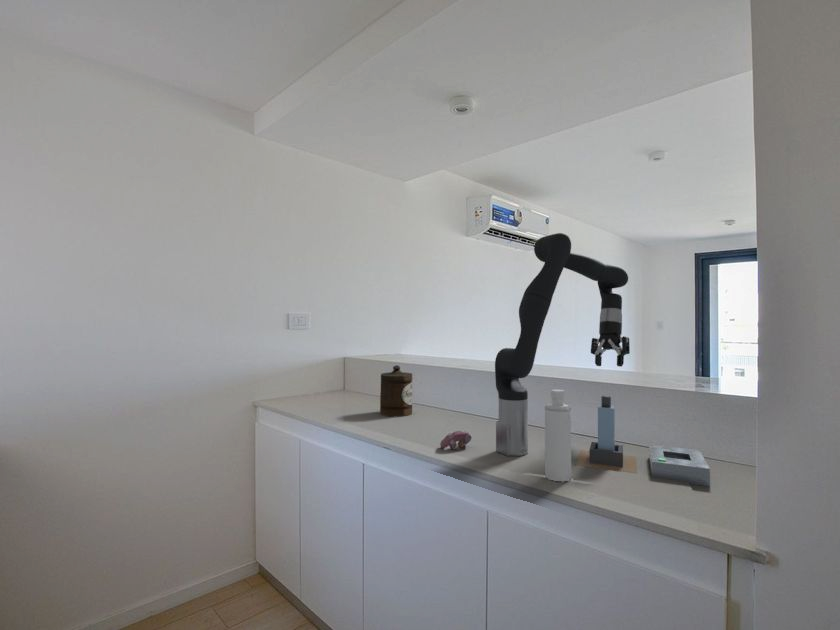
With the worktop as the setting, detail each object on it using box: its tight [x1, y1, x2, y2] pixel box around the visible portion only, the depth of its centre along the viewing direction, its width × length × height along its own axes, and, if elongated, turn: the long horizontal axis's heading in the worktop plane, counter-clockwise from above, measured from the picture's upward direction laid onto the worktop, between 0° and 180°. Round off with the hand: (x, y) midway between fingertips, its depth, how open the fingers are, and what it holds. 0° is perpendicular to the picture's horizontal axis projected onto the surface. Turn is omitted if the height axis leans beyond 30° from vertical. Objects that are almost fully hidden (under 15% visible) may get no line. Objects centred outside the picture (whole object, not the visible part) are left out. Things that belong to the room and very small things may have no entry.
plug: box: [597, 395, 616, 451], centre depth 129 cm, size 4×4×19 cm
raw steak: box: [439, 430, 473, 450], centre depth 144 cm, size 10×5×7 cm, turn 118°
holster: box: [575, 441, 638, 474], centre depth 129 cm, size 16×16×5 cm
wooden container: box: [379, 365, 413, 417], centre depth 200 cm, size 15×15×22 cm
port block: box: [648, 444, 711, 487], centre depth 121 cm, size 18×13×5 cm
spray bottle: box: [544, 388, 572, 483], centre depth 117 cm, size 7×7×25 cm
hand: (608, 366), depth 156 cm, fingers open, 8 cm apart
